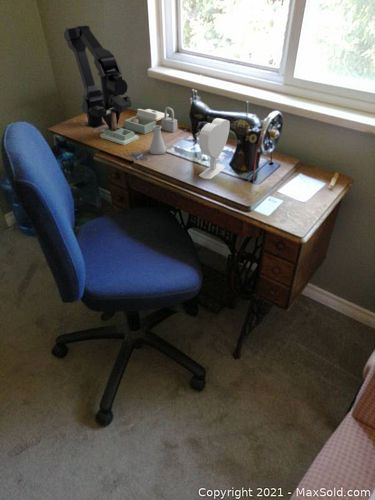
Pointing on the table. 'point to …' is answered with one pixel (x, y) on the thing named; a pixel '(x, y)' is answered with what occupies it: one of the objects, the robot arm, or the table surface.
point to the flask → (157, 142)
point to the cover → (150, 114)
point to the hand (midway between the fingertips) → (113, 127)
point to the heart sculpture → (213, 144)
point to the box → (140, 124)
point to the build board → (119, 135)
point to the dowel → (113, 122)
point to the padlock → (169, 121)
